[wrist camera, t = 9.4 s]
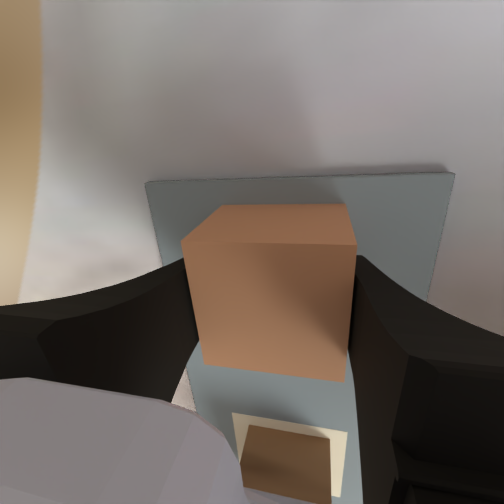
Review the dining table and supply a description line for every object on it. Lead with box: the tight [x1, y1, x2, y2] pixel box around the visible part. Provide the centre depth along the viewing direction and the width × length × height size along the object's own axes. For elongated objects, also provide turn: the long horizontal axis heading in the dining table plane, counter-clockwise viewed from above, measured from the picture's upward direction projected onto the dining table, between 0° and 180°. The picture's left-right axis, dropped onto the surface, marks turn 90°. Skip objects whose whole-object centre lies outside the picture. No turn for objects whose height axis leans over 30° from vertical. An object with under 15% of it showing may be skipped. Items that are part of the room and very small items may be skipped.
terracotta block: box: [181, 204, 357, 383], centre depth 11 cm, size 5×5×4 cm
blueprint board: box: [144, 172, 455, 504], centre depth 16 cm, size 24×12×1 cm, turn 4°
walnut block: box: [240, 425, 332, 504], centre depth 17 cm, size 5×5×4 cm
